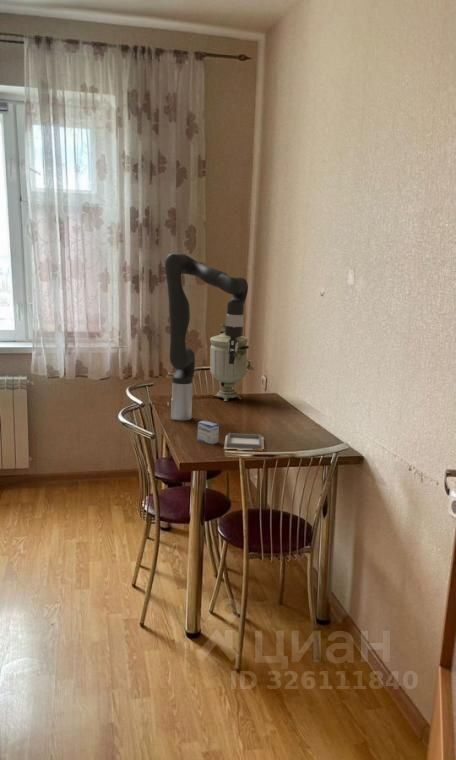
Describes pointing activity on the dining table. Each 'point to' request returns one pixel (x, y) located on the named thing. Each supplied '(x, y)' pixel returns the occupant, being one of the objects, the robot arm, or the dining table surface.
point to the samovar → (221, 363)
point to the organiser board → (243, 441)
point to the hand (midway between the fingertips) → (232, 361)
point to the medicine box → (208, 432)
